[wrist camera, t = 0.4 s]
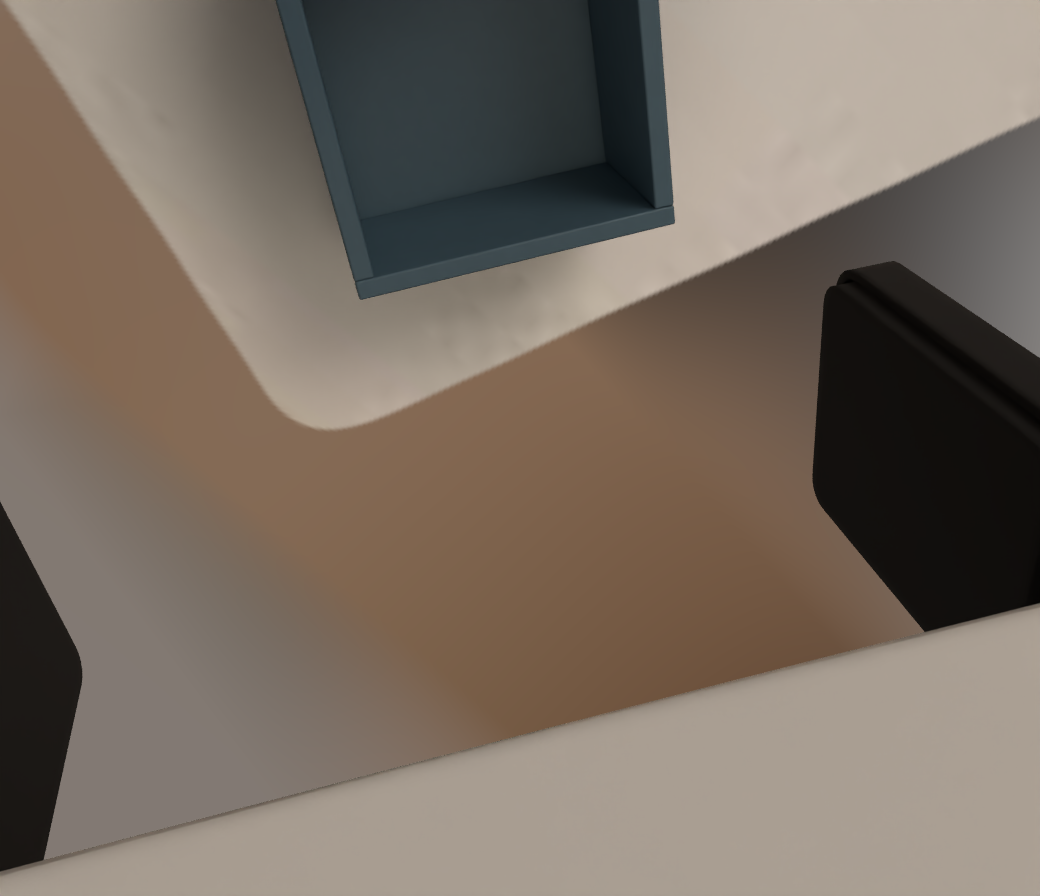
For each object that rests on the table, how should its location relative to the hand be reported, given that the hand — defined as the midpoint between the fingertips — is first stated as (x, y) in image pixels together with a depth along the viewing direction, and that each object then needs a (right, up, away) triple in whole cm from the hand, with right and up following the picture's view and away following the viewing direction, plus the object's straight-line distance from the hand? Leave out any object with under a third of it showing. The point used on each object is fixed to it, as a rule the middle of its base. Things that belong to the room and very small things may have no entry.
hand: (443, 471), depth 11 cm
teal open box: (-2, +16, +24) cm, 29 cm away
